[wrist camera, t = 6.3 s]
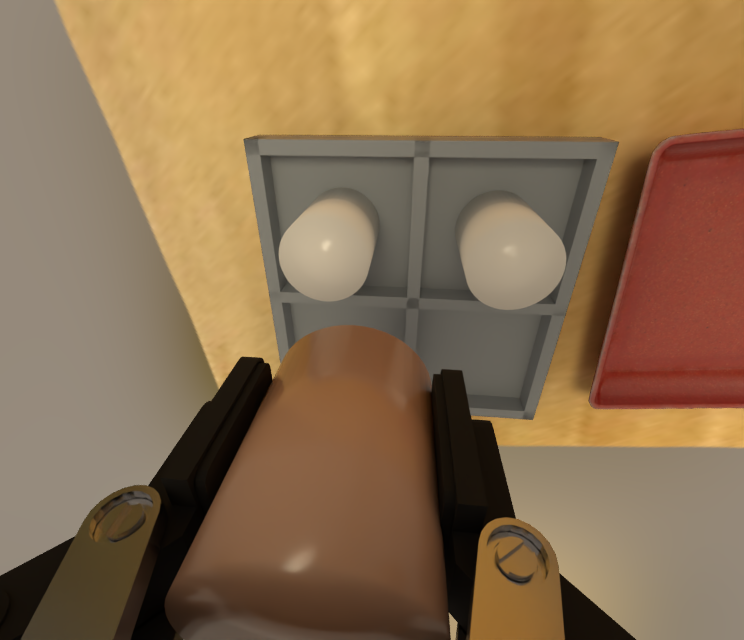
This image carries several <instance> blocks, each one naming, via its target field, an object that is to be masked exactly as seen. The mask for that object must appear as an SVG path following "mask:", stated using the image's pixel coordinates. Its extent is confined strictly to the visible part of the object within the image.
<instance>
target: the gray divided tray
mask: <svg viewBox="0 0 744 640" xmlns="http://www.w3.org/2000/svg"><path fill="white" fill-rule="evenodd" d="M618 144H619V142H617V141H613V140H609V139H605V138H602V137H509V136H354V135H257V136H253V137H249V138H246V139H244V145H245V151H246V157H247V163H248V169H249V175H250V181H251V187H252V194H253V200H254V206H255V212H256V218H257V224H258V230H259V236H260V242H261V248H262V254H263V260H264V266H265V272H266V278H267V284H268V290H269V296H270V302H271V308H272V314H273V320H274V326H275V332H276V338H277V344H278V350H279V356H280V362H281V363H282V361H283V359H284V357H285V355H286V353H287V352H288V351H289V349H290V348H291V347H292V346H293V345H294V344H295V343H296V342H297V341H299V340H300V339H301V338H303V337H304V336H306V335H308V334H310V333H312V332H314V331H317V330H319V329H323V328H327V327H331V326H339V325H356V326H365V327H369V328H374V329H377V330H380V331H383V332H386V333H388V334H390V335H392V336H394V337H396V338H398V339H399V340H401V341H402V342H404V343H405V344H406V345H408V346H409V347H410V348H411V349H413V351H414V352H415V353H416V354H417V355H418V356H419V357H420V359H421V360H422V361H423V363H424V364H425V366H426V368H427V370H428V372H429V376H430V379H431V384H432V381H433V374H440V373H441V369H451V370H462V372H463V377H464V382H465V387H466V393H467V398H468V403H469V409H470V414H471V415H473V416H487V417H500V418H514V419H528V420H533V418H534V415H535V412H536V408H537V405H538V402H539V399H540V396H541V392H542V389H543V386H544V383H545V379H546V376H547V373H548V370H549V366H550V363H551V360H552V357H553V354H554V350H555V347H556V344H557V341H558V337H559V334H560V331H561V328H562V324H563V321H564V318H565V315H566V312H567V308H568V305H569V302H570V299H571V295H572V292H573V289H574V286H575V282H576V279H577V276H578V273H579V270H580V266H581V263H582V260H583V257H584V253H585V250H586V247H587V244H588V240H589V237H590V234H591V231H592V228H593V224H594V221H595V218H596V215H597V211H598V208H599V205H600V202H601V199H602V195H603V192H604V189H605V186H606V182H607V179H608V176H609V173H610V169H611V166H612V163H613V160H614V157H615V153H616V150H617V147H618ZM337 187H345V188H351V189H354V190H356V191H358V192H360V193H362V194H363V195H365V196H366V197H367V198H368V199H369V200H370V201H371V202H372V204H373V205H374V207H375V209H376V211H377V213H378V216H379V222H380V229H379V235H378V238H377V242H376V246H375V249H374V253H373V257H372V260H371V264H370V268H369V271H368V275H367V277H366V280H365V282H364V284H363V285H362V286H361V288H360V289H359V290H358V291H357V292H355V293H354V294H353V295H351V296H349V297H348V298H345V299H342V300H339V301H319V300H315V299H312V298H310V297H307V296H305V295H304V294H302V293H300V292H299V291H298V290H296V289H295V288H294V287H293V286H292V285H291V284H290V283H289V281H288V280H287V278H286V277H285V275H284V273H283V271H282V269H281V266H280V262H279V246H280V242H281V239H282V237H283V235H284V233H285V232H286V231H287V229H288V228H289V227H290V226H291V225H292V224H293V223H294V222H295V221H296V220H297V218H298V217H299V216H300V215H301V214H302V213H303V212H304V211H305V210H306V209H307V208H308V207H309V206H310V205H311V204H312V202H313V201H314V200H315V199H316V198H317V197H318V196H319V195H320V194H322V193H323V192H325V191H327V190H329V189H332V188H337ZM495 190H502V191H508V192H512V193H514V194H516V195H518V196H520V197H521V198H522V199H523V200H524V201H525V202H526V203H527V204H528V205H529V206H530V207H531V208H532V209H533V210H534V211H535V212H536V213H537V214H538V215H539V216H540V217H541V218H542V219H543V221H544V222H545V223H546V224H547V225H548V226H549V227H550V228H551V229H552V230H553V231H554V232H555V233H556V234H557V235H558V236H559V238H560V239H561V241H562V243H563V245H564V248H565V251H566V266H565V271H564V273H563V276H562V278H561V280H560V282H559V283H558V285H557V286H556V287H555V289H554V290H553V291H552V292H551V293H550V294H549V295H548V296H546V297H545V298H544V299H542V300H541V301H539V302H537V303H535V304H533V305H531V306H528V307H525V308H521V309H515V310H502V309H496V308H493V307H490V306H488V305H486V304H484V303H482V302H481V301H479V300H478V299H477V298H476V297H475V296H474V295H473V293H472V292H471V290H470V289H469V287H468V284H467V281H466V277H465V273H464V269H463V265H462V261H461V257H460V253H459V249H458V246H457V242H456V237H455V226H456V222H457V219H458V217H459V214H460V213H461V211H462V209H463V208H464V207H465V206H466V205H467V204H468V203H469V202H470V201H471V200H472V199H474V198H475V197H477V196H478V195H481V194H483V193H486V192H489V191H495Z"/></svg>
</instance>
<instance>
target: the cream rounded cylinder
mask: <svg viewBox="0 0 744 640" xmlns="http://www.w3.org/2000/svg"><path fill="white" fill-rule="evenodd" d="M455 237H456V242H457V246H458V249H459V253H460V257H461V261H462V265H463V269H464V273H465V277H466V281H467V284H468V287H469V289H470V290H471V292H472V293H473V295H474V296H475V297H476V298H477V299H478V300H479V301H481V302H482V303H484V304H486V305H488V306H490V307H493V308H496V309H502V310H515V309H521V308H525V307H528V306H531V305H533V304H535V303H537V302H539V301H541V300H542V299H544V298H545V297H546V296H548V295H549V294H550V293H551V292H552V291H553V290H554V289H555V287H556V286H557V285H558V283H559V282H560V280H561V278H562V276H563V273H564V271H565V266H566V251H565V248H564V245H563V243H562V241H561V239H560V238H559V236H558V235H557V234H556V233H555V232H554V231H553V230H552V229H551V228H550V227H549V226H548V225H547V224H546V223H545V222H544V221H543V219H542V218H541V217H540V216H539V215H538V214H537V213H536V212H535V211H534V210H533V209H532V208H531V207H530V206H529V205H528V204H527V203H526V202H525V201H524V200H523V199H522V198H521V197H520V196H518V195H516V194H514V193H512V192H508V191H502V190H495V191H489V192H486V193H483V194H481V195H478V196H477V197H475V198H474V199H472V200H471V201H470V202H469V203H468V204H467V205H466V206H465V207H464V208H463V209H462V211H461V213H460V214H459V217H458V219H457V222H456V226H455Z"/></svg>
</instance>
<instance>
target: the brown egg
mask: <svg viewBox="0 0 744 640" xmlns="http://www.w3.org/2000/svg"><path fill="white" fill-rule="evenodd" d="M431 389H432V384H431V379H430V376H429V372H428V370H427V368H426V366H425V364H424V363H423V361H422V360H421V359H420V357H419V356H418V355H417V354H416V353H415V352H414V351H413V349H411V348H410V347H409V346H408V345H406V344H405V343H404V342H402V341H401V340H399V339H398V338H396V337H394V336H392V335H390V334H388V333H386V332H383V331H380V330H377V329H374V328H369V327H365V326H356V325H339V326H331V327H327V328H323V329H319V330H317V331H314V332H312V333H310V334H308V335H306V336H304V337H303V338H301V339H300V340H299V341H297V342H296V343H295V344H294V345H293V346H292V347H291V348H290V349H289V351H288V352H287V353H286V355H285V357H284V359H283V361H282V363H281V365H280V367H279V369H278V371H277V373H276V375H275V377H274V379H273V381H272V383H271V385H270V387H269V389H268V391H267V393H266V395H265V397H264V399H263V401H262V403H261V405H260V407H259V409H258V411H257V413H256V415H255V417H254V419H253V421H252V423H251V425H250V427H249V429H248V431H247V433H246V435H245V437H244V439H243V441H242V444H241V446H240V448H239V450H238V452H237V454H236V456H235V458H234V460H233V462H232V464H231V466H230V468H229V470H228V472H227V474H226V476H225V478H224V480H223V482H222V484H221V486H220V488H219V490H218V492H217V494H216V496H215V498H214V500H213V502H212V504H211V506H210V508H209V510H208V512H207V514H206V516H205V518H204V520H203V522H202V524H201V526H200V528H199V530H198V533H197V535H196V537H195V539H194V541H193V543H192V545H191V547H190V549H189V551H188V553H187V555H186V557H185V559H184V561H183V563H182V565H181V567H180V569H179V571H178V573H177V575H176V577H175V579H174V581H173V583H172V585H171V587H170V589H169V591H168V593H167V596H166V598H165V605H164V607H165V613H166V616H167V618H168V620H169V623H170V624H171V625H172V627H173V628H174V630H175V631H176V632H177V633H178V634H179V635H180V636H181V637H182V638H183V639H184V640H451V638H450V625H449V611H448V597H447V584H446V570H445V556H444V543H443V534H442V529H441V526H440V512H439V498H438V483H437V469H436V454H435V440H434V425H433V411H432V396H431Z"/></svg>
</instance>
